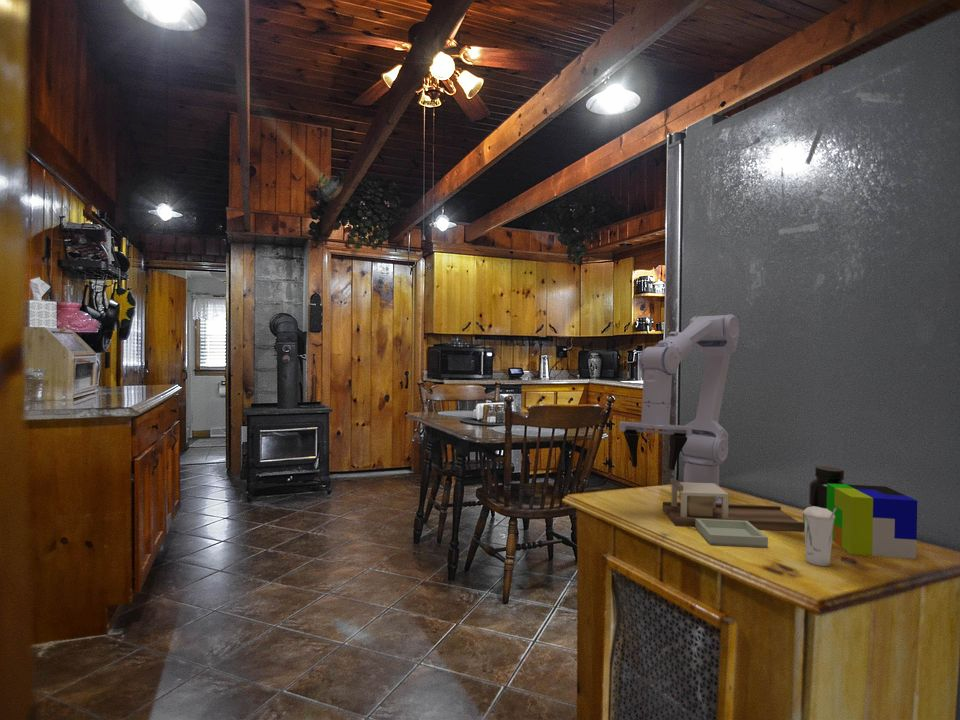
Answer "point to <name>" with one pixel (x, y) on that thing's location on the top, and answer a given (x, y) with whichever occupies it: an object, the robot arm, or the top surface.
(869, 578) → the top surface
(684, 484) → the cover
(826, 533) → the milkshake
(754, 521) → the board
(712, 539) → the sage tray
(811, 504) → the supplement bottle
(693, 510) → the maple block
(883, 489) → the puzzle toy
